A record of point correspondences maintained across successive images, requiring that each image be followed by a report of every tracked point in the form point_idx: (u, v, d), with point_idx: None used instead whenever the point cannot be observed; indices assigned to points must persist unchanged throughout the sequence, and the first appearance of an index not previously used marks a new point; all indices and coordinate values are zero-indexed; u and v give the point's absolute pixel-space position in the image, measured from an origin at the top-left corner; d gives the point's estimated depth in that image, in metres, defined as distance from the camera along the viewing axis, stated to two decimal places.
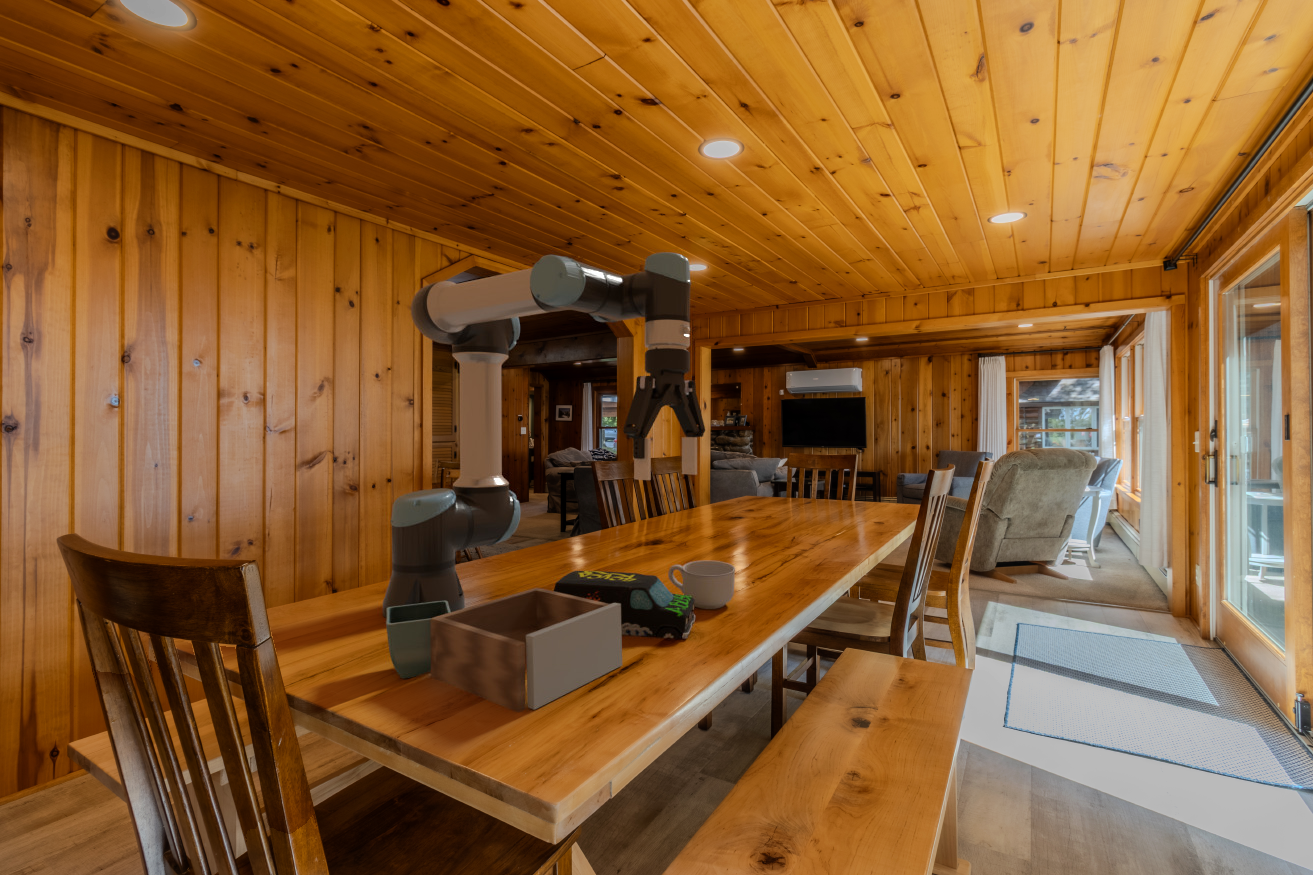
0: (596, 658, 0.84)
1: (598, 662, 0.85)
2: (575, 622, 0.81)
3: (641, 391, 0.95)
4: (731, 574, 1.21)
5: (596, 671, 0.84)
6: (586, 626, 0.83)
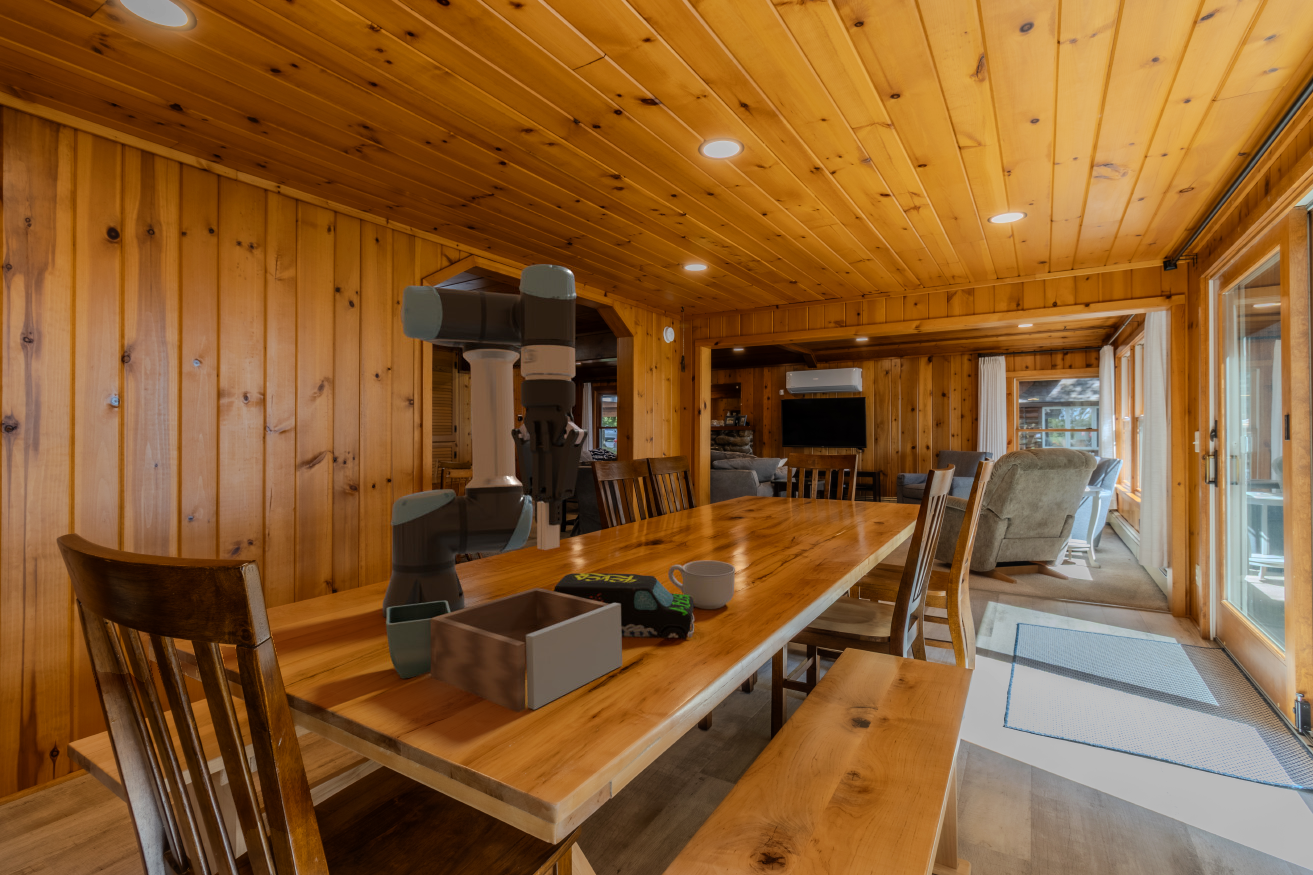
0: (596, 658, 0.84)
1: (598, 662, 0.85)
2: (575, 622, 0.81)
3: None
4: (731, 574, 1.21)
5: (596, 671, 0.84)
6: (586, 626, 0.83)
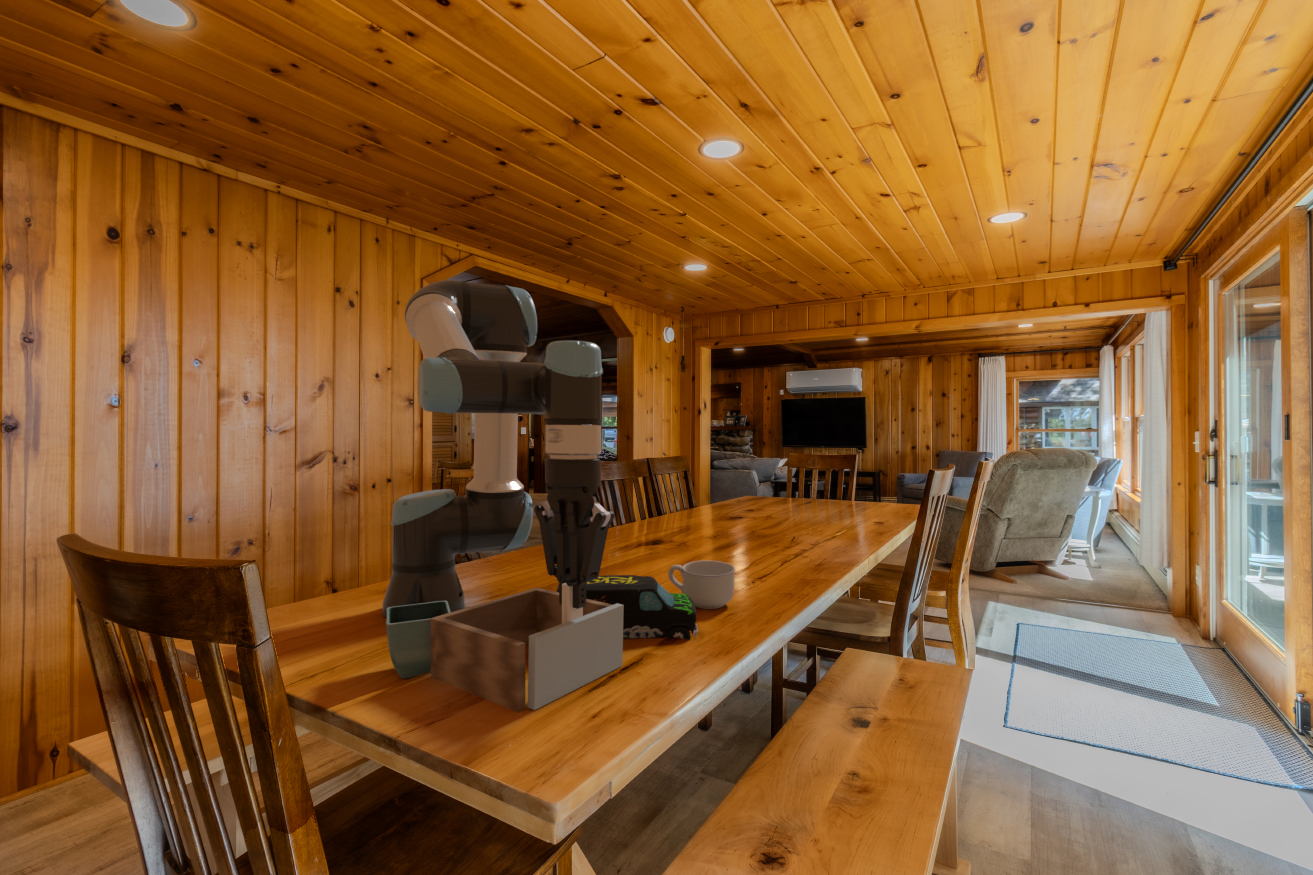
0: (597, 659, 0.84)
1: (599, 663, 0.84)
2: (578, 623, 0.81)
3: None
4: (731, 574, 1.21)
5: (596, 672, 0.84)
6: (589, 627, 0.82)
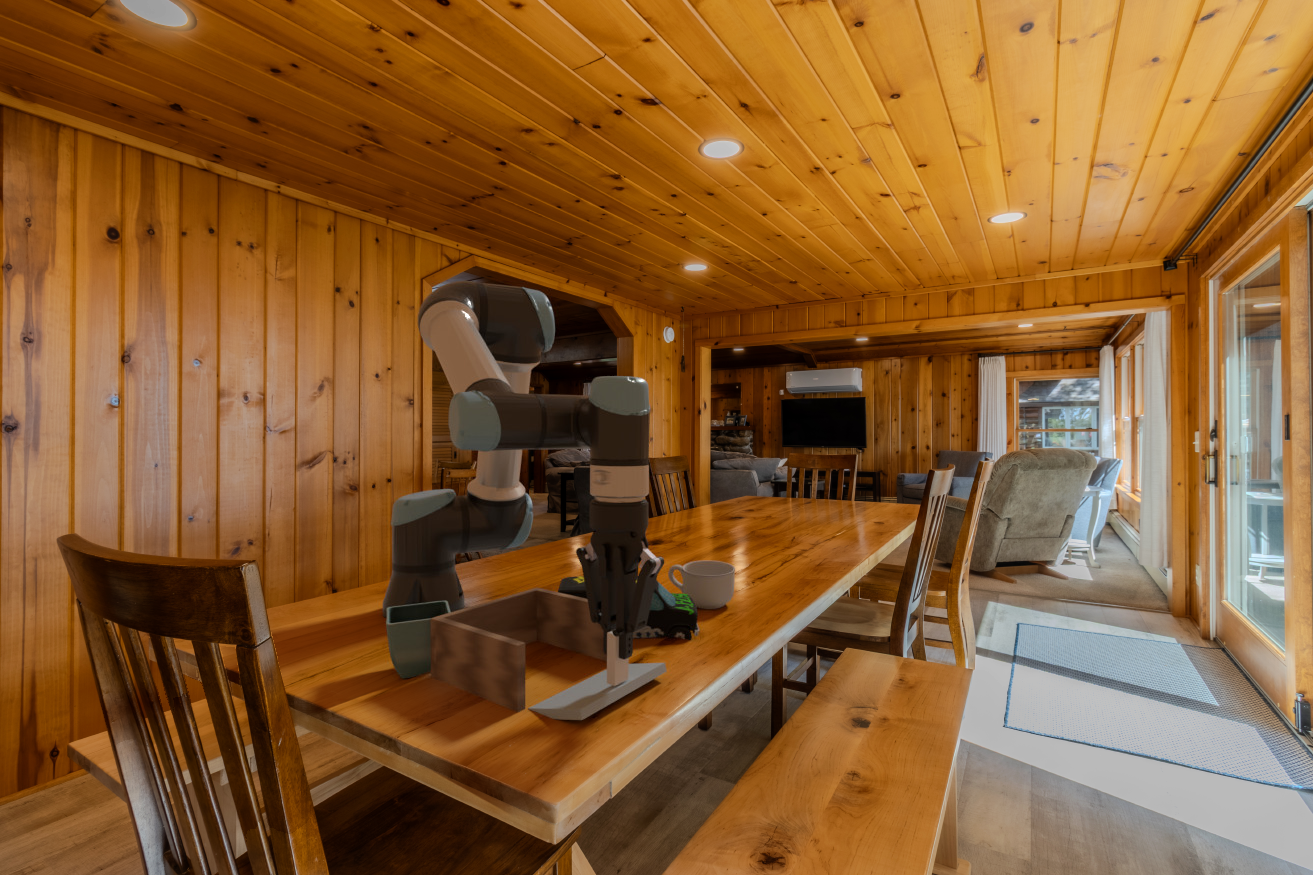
0: None
1: None
2: None
3: None
4: (731, 574, 1.21)
5: None
6: None
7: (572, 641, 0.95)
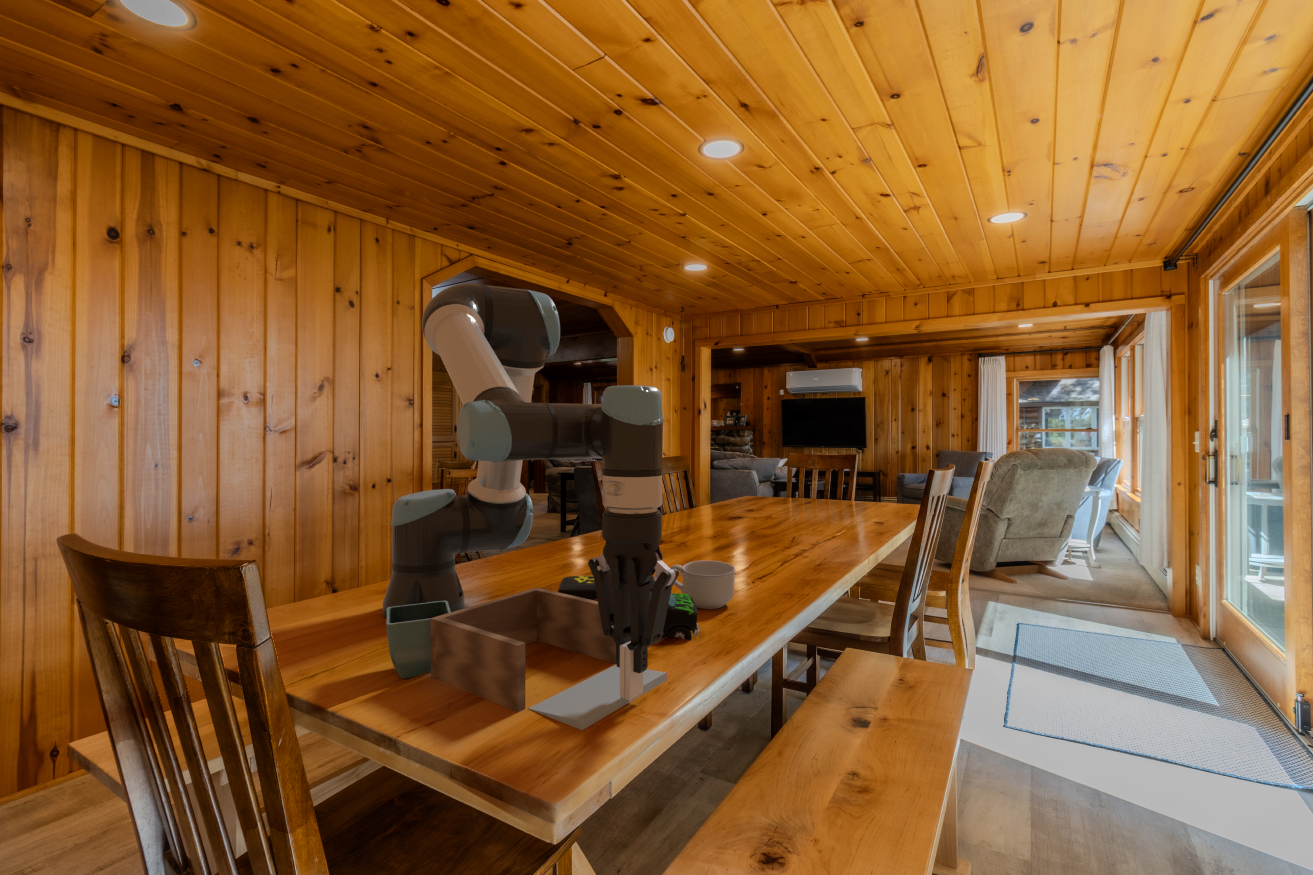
0: None
1: None
2: None
3: None
4: (731, 574, 1.21)
5: None
6: None
7: (572, 641, 0.95)
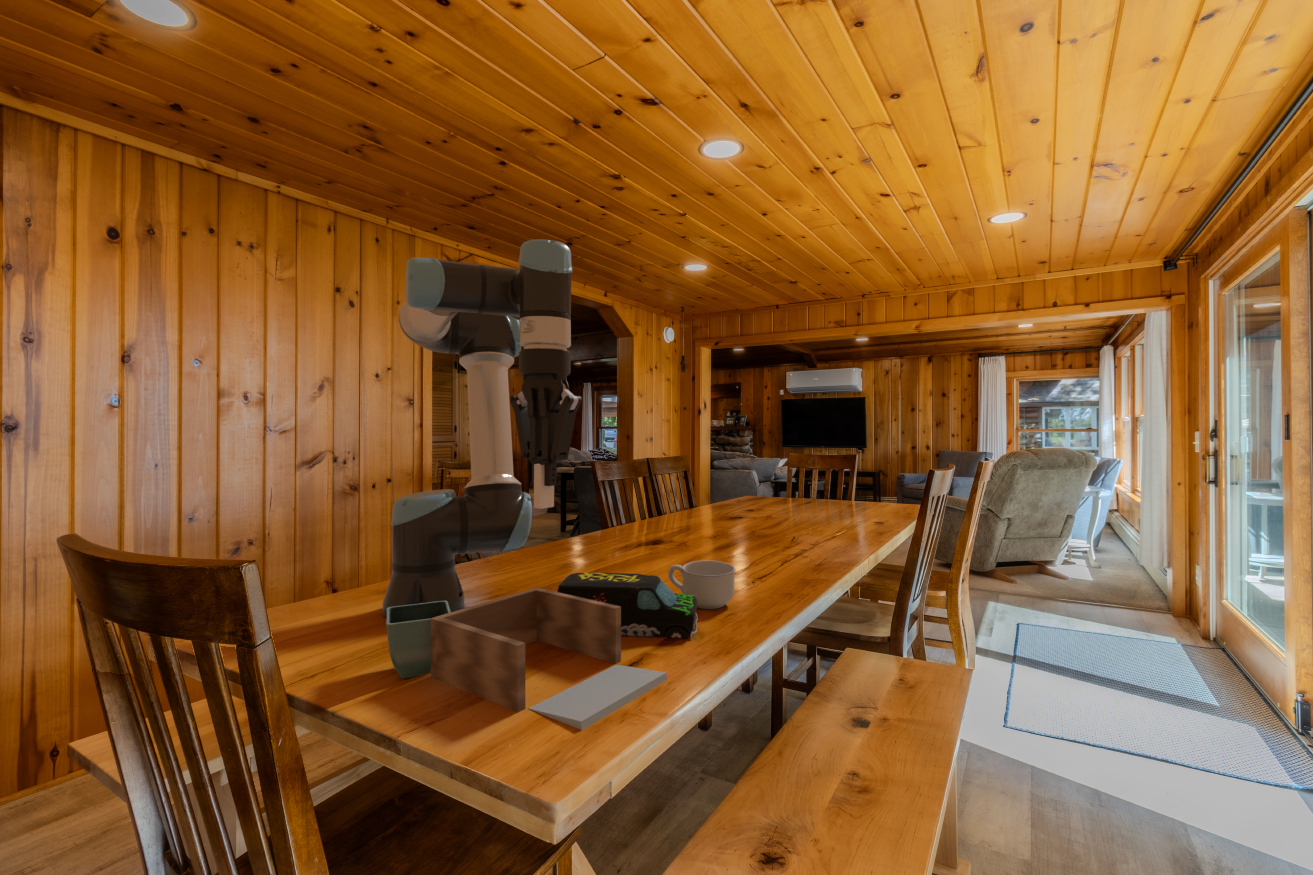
0: None
1: None
2: None
3: None
4: (731, 574, 1.21)
5: None
6: None
7: (572, 641, 0.95)
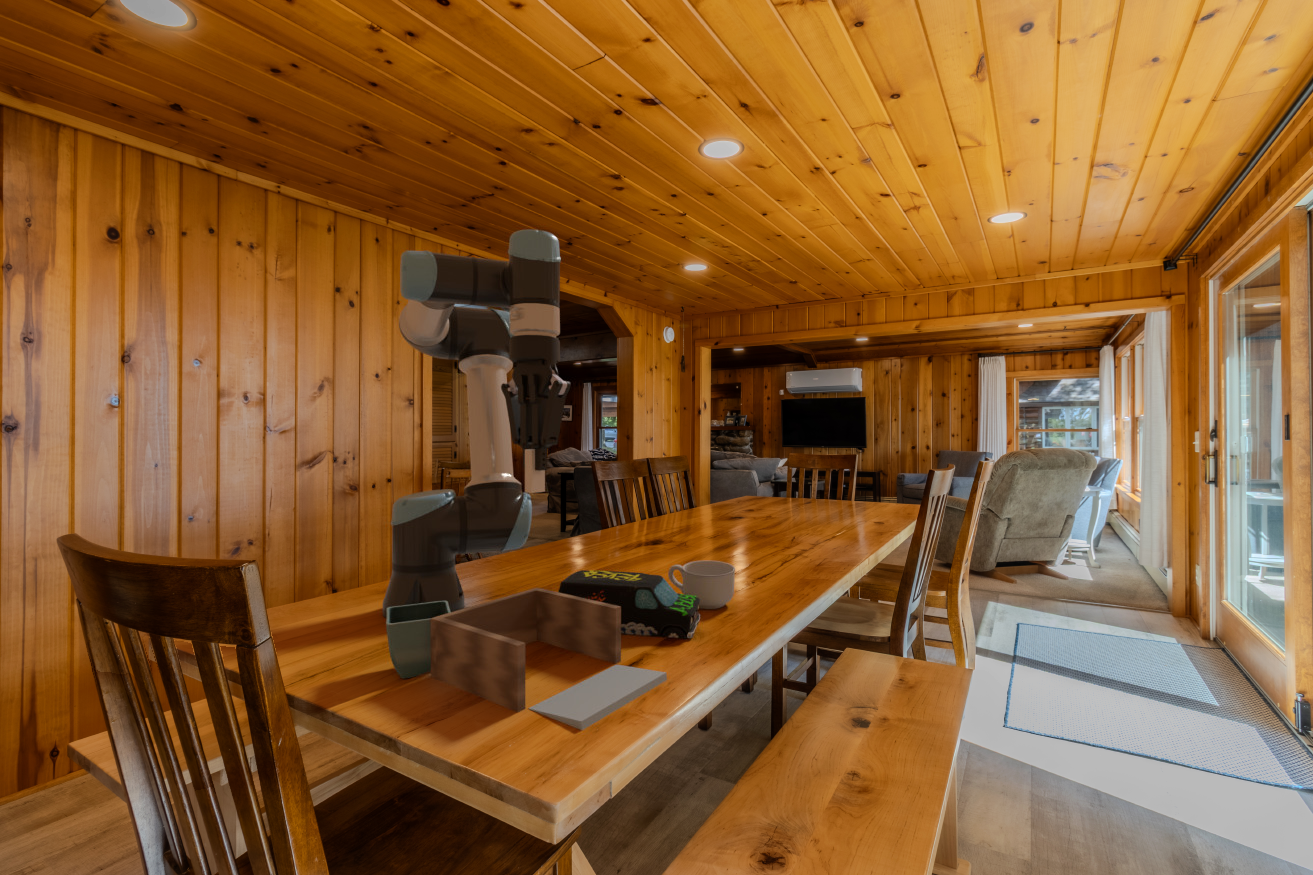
0: None
1: None
2: None
3: None
4: (731, 574, 1.21)
5: None
6: None
7: (572, 641, 0.95)
